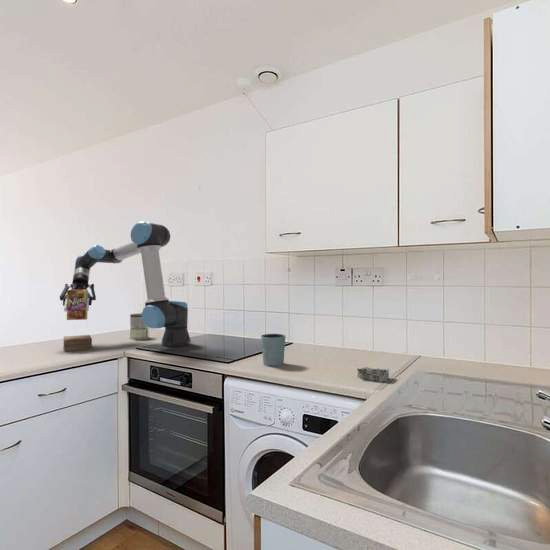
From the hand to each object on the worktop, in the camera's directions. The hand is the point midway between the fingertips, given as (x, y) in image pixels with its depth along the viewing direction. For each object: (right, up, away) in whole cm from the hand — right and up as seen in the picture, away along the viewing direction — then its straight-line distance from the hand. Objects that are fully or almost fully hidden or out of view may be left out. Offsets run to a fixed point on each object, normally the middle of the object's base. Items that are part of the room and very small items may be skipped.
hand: (76, 309), depth 184 cm
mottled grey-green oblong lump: (+135, -20, -53) cm, 147 cm away
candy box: (-1, -6, +3) cm, 6 cm away
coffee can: (+20, -20, +32) cm, 43 cm away
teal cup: (+99, -20, -32) cm, 106 cm away
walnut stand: (-1, -19, +3) cm, 20 cm away
